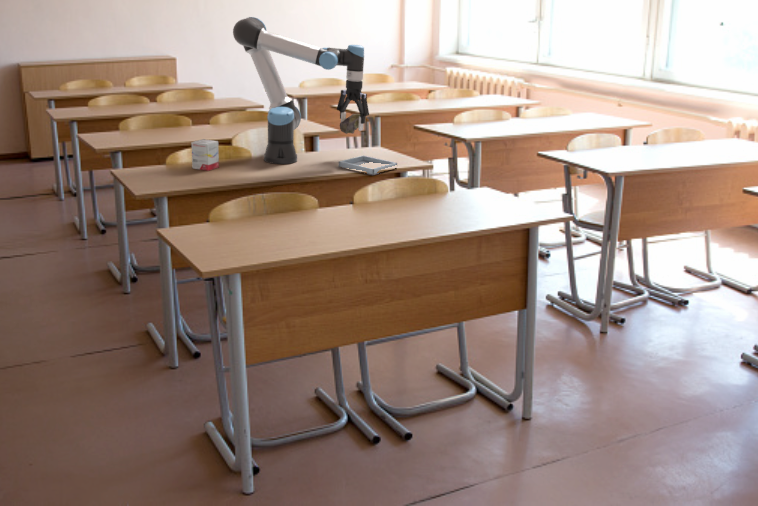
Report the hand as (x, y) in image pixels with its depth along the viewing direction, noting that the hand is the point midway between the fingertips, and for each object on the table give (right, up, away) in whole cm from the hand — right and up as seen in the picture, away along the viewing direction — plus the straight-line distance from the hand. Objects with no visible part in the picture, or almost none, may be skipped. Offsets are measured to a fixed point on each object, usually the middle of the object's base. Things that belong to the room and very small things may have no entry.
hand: (351, 128), depth 388 cm
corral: (+8, -20, -12) cm, 24 cm away
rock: (-1, -3, +1) cm, 3 cm away
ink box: (-63, -21, -24) cm, 70 cm away
